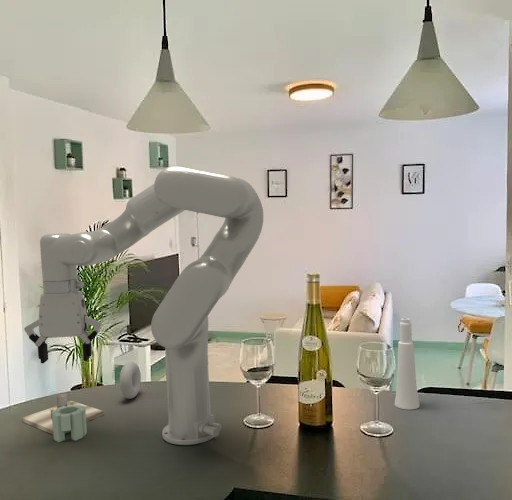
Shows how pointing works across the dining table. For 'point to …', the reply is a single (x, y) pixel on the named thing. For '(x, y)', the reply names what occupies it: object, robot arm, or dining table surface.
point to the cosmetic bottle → (406, 370)
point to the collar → (69, 422)
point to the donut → (130, 380)
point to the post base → (45, 417)
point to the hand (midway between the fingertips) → (65, 360)
